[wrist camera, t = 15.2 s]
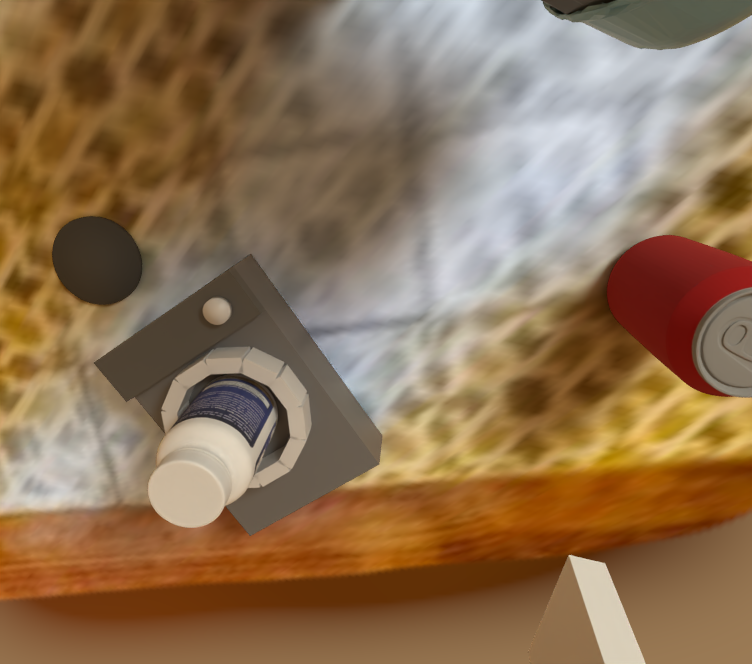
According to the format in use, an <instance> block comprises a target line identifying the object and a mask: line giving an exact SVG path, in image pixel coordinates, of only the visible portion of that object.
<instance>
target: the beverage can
mask: <svg viewBox="0 0 752 664" xmlns="http://www.w3.org/2000/svg"><path fill="white" fill-rule="evenodd" d="M607 299H608V304H609V307H610V310H611V312H612V314H613V316H614V317H615V319H616V320H617V321H618V322H619V323H620V324H621V325H622V326H623V327H624V328H625V329H626V330H627V331H628V332H629V333H630V334H631V335H632V336H633V337H634V338H635V339H636V340H638V341H639V342H640V343H641V344H642V345H643V346H644V347H645V348H646V349H647V350H648V351H650V352H651V353H652V354H653V355H654V356H655V357H656V358H657V359H658V360H660V361H661V362H662V363H663V364H664V365H665V366H666V367H668V368H669V369H670V370H671V371H672V372H673V373H674V374H676V375H677V376H678V377H679V378H680V379H681V380H683V381H684V382H685V383H686V384H687V385H689V386H690V387H692V388H694V389H696V390H698V391H700V392H703V393H706V394H710V395H715V396H724V397H733V396H735V397H752V261H749V260H746V259H744V258H741V257H738V256H736V255H733V254H730V253H727V252H725V251H722V250H719V249H716V248H713V247H710V246H708V245H705V244H702V243H699V242H696V241H693V240H690V239H687V238H684V237H680V236H674V235H663V236H656V237H652V238H649V239H646V240H644V241H641V242H639V243H638V244H636V245H634V246H633V247H631V248H630V249H629V250H628V251H626V252H625V253H624V254H623V255H622V256H621V258H620V259H619V260H618V261H617V263H616V264H615V266H614V268H613V270H612V272H611V274H610V277H609V280H608V286H607Z"/></svg>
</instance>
